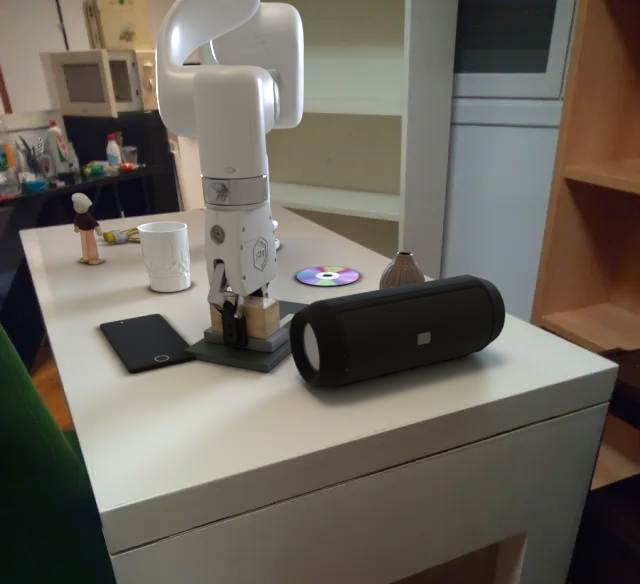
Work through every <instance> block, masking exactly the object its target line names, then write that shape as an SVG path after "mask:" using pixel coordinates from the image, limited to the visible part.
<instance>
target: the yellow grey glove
mask: <svg viewBox="0 0 640 584" xmlns="http://www.w3.org/2000/svg"><path fill="white" fill-rule="evenodd" d="M138 227H139V226H136V227H132V228H128V229H123V230H120V229H112V230H108V231H102V233H103V235H102V238H103V239H104V241H106V242H107V244H119V243H122V242H125V241H127V242H133V243H141V242H140V237H135V236H133V237H131V236H130V235H133V234H137V233H138ZM138 234H139V233H138Z"/></svg>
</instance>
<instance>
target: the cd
mask: <svg viewBox="0 0 640 584" xmlns="http://www.w3.org/2000/svg"><path fill="white" fill-rule="evenodd" d="M326 275H329V276H326ZM359 277H360V275H359V273H358V272H357V271H355V270H353V269H350V268H345V267H340V266H317V267H311V268H306V269H304V270H301V271H299V272H298V273H297V274H296V278H297V280H298V281H300V282H302V283H303V284H307V285H312V286H322V287H330V286H331V287H332V286H342V285H346V284H351V283H353V282H355V281H357V280H358V279H359Z"/></svg>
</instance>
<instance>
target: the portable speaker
mask: <svg viewBox="0 0 640 584" xmlns="http://www.w3.org/2000/svg"><path fill="white" fill-rule="evenodd" d="M309 304H310V305H308V306H306V307H305V308H303V309H302V310H300V311H298V312H297V313H296V314H295V315H294V316H293V318H292V320H291V324H290V346H291V352H290V353H291V355H292V359H293V362H294V365H295V367H296V370H297V371H298V373H299V375H300V376H301V378H302V379H303V381H305V382H306V384H309V385H315V386H322V387H327V388H335V387H340V386H345V385H348V384H353V383H357V382H361V381H365V380H369V379H373V378H378V377H381V376H386V375H389V374H394V373H397V372H403V371H406V370H411V369H415V368H419V367H423V366H427V365H431V364H435V363H439V362H444V361H448V360H451V359H455V358H456V359H457V358H459V357H463V356H468V355H472V354H476V353H479V352H481V351H483V350H484V349H486V348H487V347H488V346H489V345H491V344H492V343H493V342H494V341H496V340H497V339H498V337H500V335H501V333H502V332H503V329H504V327H505V322H506V307H505V306H506V305H505V302H504V298H503V295H502V294H501V291H500V290H499V289H498V287H497V286H496V285H495V284H494V283H493V282H491V281H490V280H487V279H485V278H482V277H478V276H475V275H471V274H461V275H455V276H449V277H444V278H443V277H442V278H438V279H432V280H425V282H420V283H414V284H408V285H403V286H397V287H391V288H386V289H380V290H379V289H374V290H370V291H363V292H359V293H353V294H347V295H342V296H335V297H331V298H325V299H320V300H319V299H318V300H315V301H312V302H311V303H309Z"/></svg>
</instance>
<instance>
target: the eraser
mask: <svg viewBox="0 0 640 584" xmlns="http://www.w3.org/2000/svg"><path fill="white" fill-rule="evenodd" d="M227 301H230V302H231V303H232V304H233V305H234V304H235V297H229V296H228V300H227ZM208 305H209V315H210V323H211V325H210V326H209V327H207V328H206V329H204V330H203V338H204V340H205V342H211V343H216V344H222V345H226V344H225V343H224V339H223V329H222V318H221V316H219V314H218V311H217V310H216V309H215V307H214V306H212V305H211V304H210V303H209V302H208ZM242 316H243V317H246V330H247V343H248V344H247V346H246V347H244V348H246V349H252V350H257V351H263V352H269V353H273V352H274V351H275V350H276V349H277V348H279V347H280V346H281V345H282V344H283V343H285V342H286V341H287V340H288V339H289V330H288V328H281V327H280V319H279V299H277V298H271V297H268V298H264V297H256V296H249V295H247V296H243V311H242ZM228 346H231V345H228ZM234 347H236V346H234ZM240 348H242V347H240Z"/></svg>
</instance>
